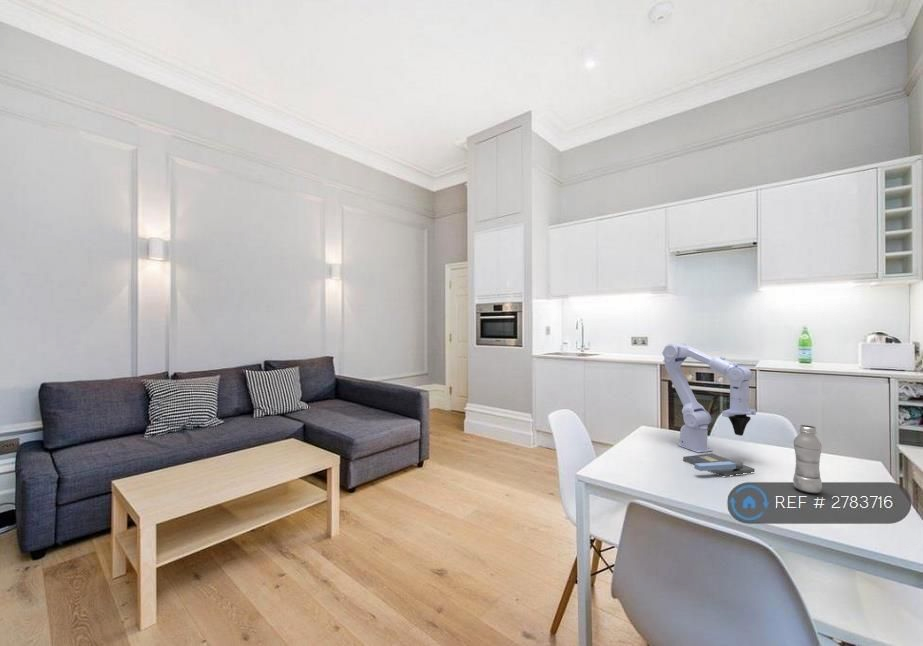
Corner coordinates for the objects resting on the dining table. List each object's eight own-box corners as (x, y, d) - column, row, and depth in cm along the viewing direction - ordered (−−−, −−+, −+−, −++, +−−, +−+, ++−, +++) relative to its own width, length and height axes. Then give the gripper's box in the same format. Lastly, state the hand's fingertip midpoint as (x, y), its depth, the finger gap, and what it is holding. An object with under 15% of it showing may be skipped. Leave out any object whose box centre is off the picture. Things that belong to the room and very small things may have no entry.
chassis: (683, 460, 142) (683, 455, 142) (711, 457, 146) (711, 452, 146) (724, 477, 127) (724, 471, 127) (754, 473, 131) (754, 467, 131)
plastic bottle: (827, 497, 113) (828, 430, 113) (801, 494, 114) (802, 428, 114) (812, 487, 119) (813, 424, 119) (787, 485, 121) (788, 423, 121)
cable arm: (736, 464, 132) (736, 459, 132) (746, 468, 128) (746, 463, 128) (693, 467, 129) (693, 462, 129) (701, 471, 125) (701, 466, 125)
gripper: (735, 401, 136) (735, 439, 136) (764, 399, 141) (763, 436, 141) (717, 397, 143) (716, 433, 143) (745, 396, 147) (744, 431, 147)
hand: (738, 434), depth 142 cm, fingers closed
